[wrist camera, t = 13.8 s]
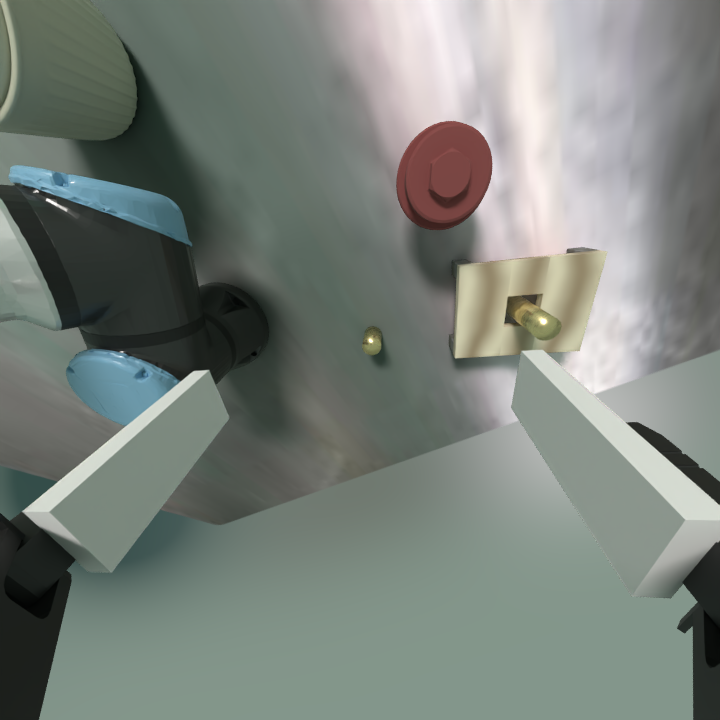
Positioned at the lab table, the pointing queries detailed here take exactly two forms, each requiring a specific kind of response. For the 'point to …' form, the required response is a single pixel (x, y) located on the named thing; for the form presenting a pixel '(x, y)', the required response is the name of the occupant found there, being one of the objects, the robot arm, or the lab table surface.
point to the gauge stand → (523, 277)
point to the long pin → (533, 318)
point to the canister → (63, 71)
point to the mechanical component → (444, 175)
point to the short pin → (372, 341)
